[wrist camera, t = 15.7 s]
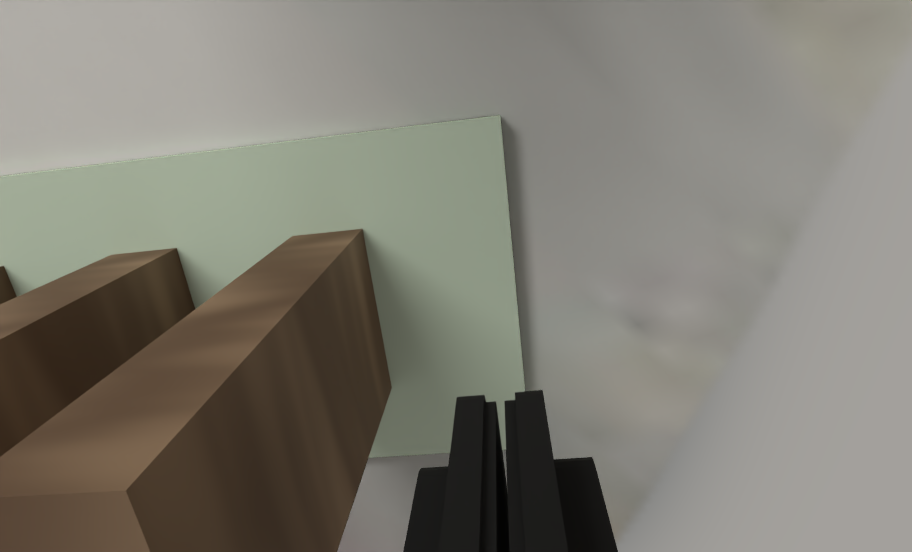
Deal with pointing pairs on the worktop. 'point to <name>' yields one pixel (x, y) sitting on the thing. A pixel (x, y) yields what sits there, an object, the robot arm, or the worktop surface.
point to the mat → (309, 212)
